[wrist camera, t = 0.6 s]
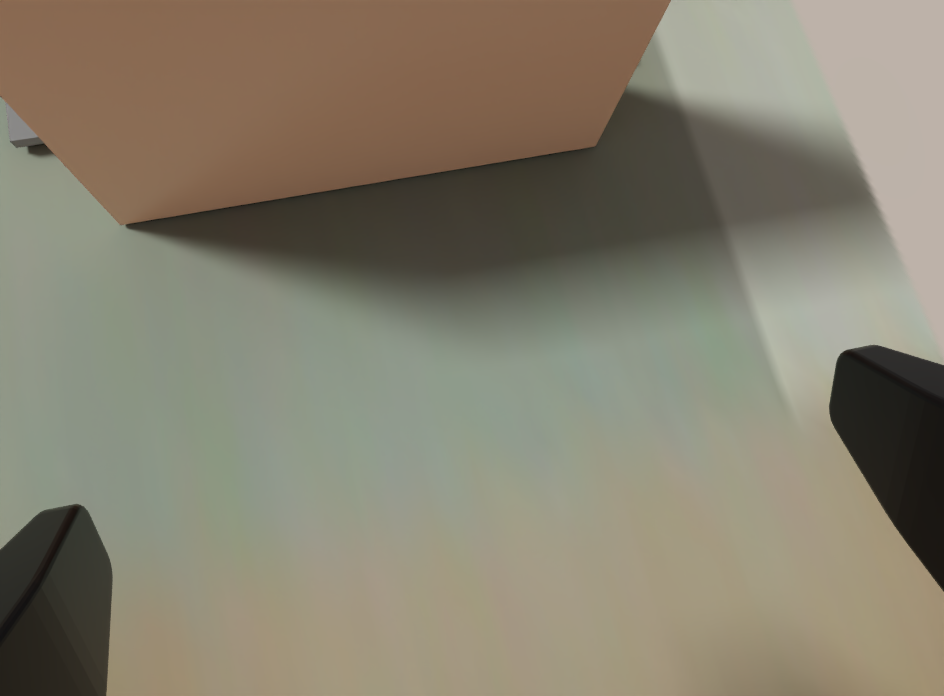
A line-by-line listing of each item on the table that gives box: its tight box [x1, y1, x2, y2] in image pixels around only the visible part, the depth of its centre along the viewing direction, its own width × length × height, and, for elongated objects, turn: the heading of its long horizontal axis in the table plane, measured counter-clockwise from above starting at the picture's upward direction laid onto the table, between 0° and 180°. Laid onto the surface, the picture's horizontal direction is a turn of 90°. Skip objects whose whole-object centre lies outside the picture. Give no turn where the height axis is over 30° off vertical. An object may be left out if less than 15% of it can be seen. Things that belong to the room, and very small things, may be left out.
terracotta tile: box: [0, 0, 671, 225], centre depth 19 cm, size 2×14×10 cm, turn 102°
